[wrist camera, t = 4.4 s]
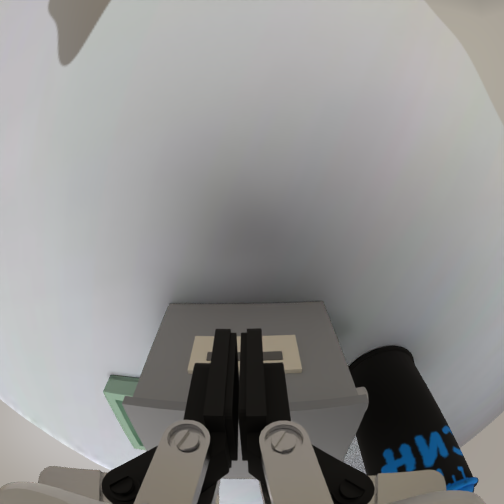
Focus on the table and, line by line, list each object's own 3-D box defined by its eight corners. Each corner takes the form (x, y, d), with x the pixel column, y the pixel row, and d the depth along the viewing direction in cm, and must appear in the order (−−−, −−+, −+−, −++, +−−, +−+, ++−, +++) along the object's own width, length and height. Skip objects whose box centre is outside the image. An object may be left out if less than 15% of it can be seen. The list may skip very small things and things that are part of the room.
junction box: (333, 373, 26) (360, 467, 16) (180, 376, 26) (159, 472, 16) (348, 295, 23) (399, 395, 13) (165, 299, 23) (121, 402, 13)
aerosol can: (399, 395, 28) (456, 541, 10) (332, 405, 28) (369, 576, 10) (423, 340, 25) (516, 506, 6) (347, 349, 25) (418, 561, 6)
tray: (225, 440, 30) (224, 457, 28) (138, 433, 30) (134, 448, 28) (216, 383, 26) (214, 402, 24) (110, 374, 26) (103, 391, 24)
